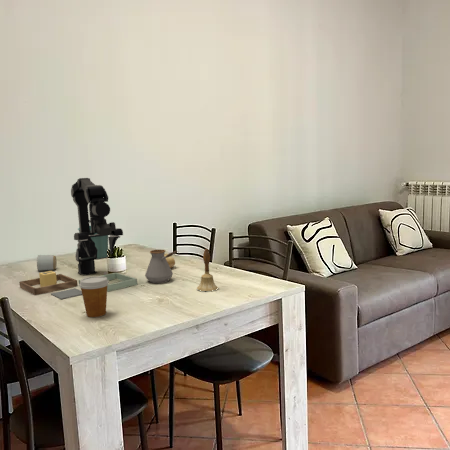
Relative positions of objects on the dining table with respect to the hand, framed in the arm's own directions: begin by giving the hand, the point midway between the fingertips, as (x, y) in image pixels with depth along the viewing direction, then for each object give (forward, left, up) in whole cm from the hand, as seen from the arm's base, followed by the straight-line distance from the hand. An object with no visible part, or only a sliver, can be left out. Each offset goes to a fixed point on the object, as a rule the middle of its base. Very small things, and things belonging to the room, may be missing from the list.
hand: (100, 255), depth 198 cm
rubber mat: (+15, 0, -13) cm, 20 cm away
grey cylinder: (+4, -49, -13) cm, 51 cm away
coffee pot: (-20, +15, -13) cm, 28 cm away
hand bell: (-26, +35, -13) cm, 46 cm away
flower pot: (-26, -58, -13) cm, 65 cm away
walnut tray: (+16, -17, -13) cm, 26 cm away
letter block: (+16, -17, -13) cm, 26 cm away
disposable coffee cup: (+19, +31, -13) cm, 39 cm away
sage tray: (-2, 0, -13) cm, 13 cm away
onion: (-36, -7, -13) cm, 39 cm away
